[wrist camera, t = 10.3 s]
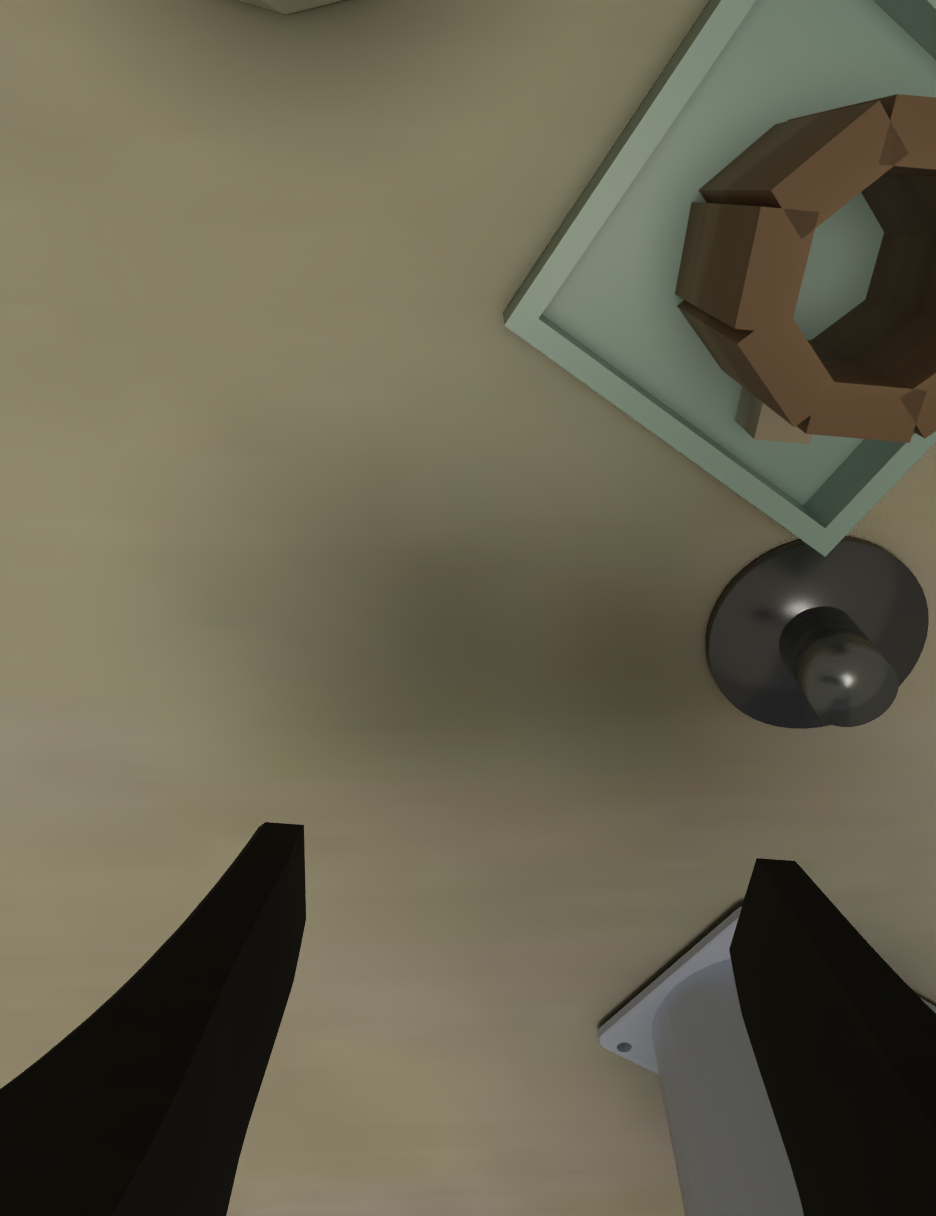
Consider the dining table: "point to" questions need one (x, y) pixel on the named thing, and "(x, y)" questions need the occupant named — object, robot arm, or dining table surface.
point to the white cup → (288, 4)
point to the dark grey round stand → (817, 634)
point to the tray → (655, 232)
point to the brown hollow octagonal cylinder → (775, 264)
